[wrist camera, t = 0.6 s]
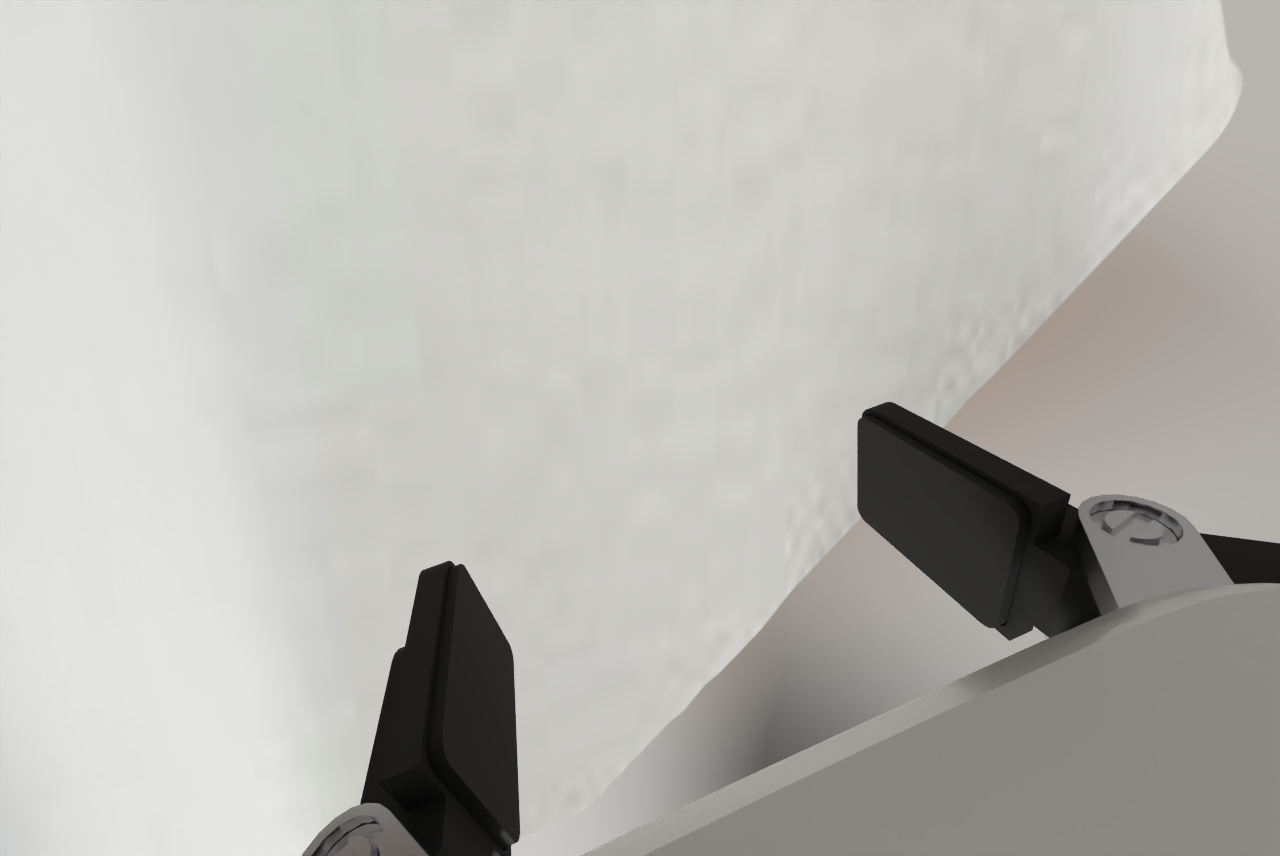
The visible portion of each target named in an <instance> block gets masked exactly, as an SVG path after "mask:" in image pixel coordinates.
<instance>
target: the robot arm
mask: <svg viewBox="0 0 1280 856" xmlns="http://www.w3.org/2000/svg"><path fill="white" fill-rule="evenodd" d="M1069 498H1070V494H1069V493H1067V492H1065V491H1063V490H1061V489H1059V488H1057V487H1055V486H1053V485H1051V484H1050V483H1048V482H1046V481H1044V480H1042V479H1040V478H1038V477H1036V476H1034V475H1032V474H1030V473H1028V472H1026V471H1024V470H1022V469H1021V468H1019V467H1017V466H1014V465H1013V464H1011V463H1009V462H1007V461H1005V460H1003V459H1001V458H999V457H997V456H995V455H993V454H991V453H990V452H988V451H986V450H984V449H982V448H980V447H978V446H976V445H974V444H972V443H970V442H968V441H966V440H964V439H962V438H961V437H959V436H957V435H955V434H953V433H951V432H949V431H947V430H945V429H943V428H941V427H939V426H937V425H935V424H933V423H932V422H930V421H928V420H926V419H924V418H922V417H920V416H918V415H916V414H914V413H912V412H910V411H908V410H906V409H904V408H903V407H901V406H899V405H897V404H895V403H892V402H886V403H883V404H881V405H878V406H875V407H872V408H869V409H867V410H865V411H864V412H863V414H862V418H861V419H859V421H858V502H857V506H858V511H859V513H860V515H861V517H862V518H863V520H864V521H865V522H866V523H868V524H869V525H870V526H871V527H872V528H873V529H874V530H876V531H877V532H878V533H879V534H880V535H881V536H882V537H884V538H885V539H886V540H887V541H888V542H889V543H891V544H892V545H893V546H894V547H895V548H896V549H897V550H898V551H900V552H901V553H902V554H903V555H904V556H905V557H906V558H907V559H909V560H910V561H911V562H912V563H913V564H914V565H915V566H917V567H918V568H919V569H920V570H921V571H922V572H924V573H925V574H926V575H927V576H928V577H929V578H930V579H931V580H933V581H934V582H935V583H936V584H937V585H938V586H939V587H941V588H942V589H943V590H944V591H945V592H946V593H947V594H949V595H950V596H951V597H952V598H953V599H954V600H955V601H957V602H958V603H959V604H960V605H961V606H962V607H963V608H964V609H966V610H967V611H968V612H969V613H970V614H971V615H973V616H974V617H975V618H976V619H977V620H978V621H979V622H981V623H982V624H983V625H985V626H987V627H989V628H995V629H996V630H998V631H999V632H1000V633H1001V634H1002V635H1003V636H1004V637H1006V638H1007V639H1008V640H1009V641H1010V640H1012V639H1014V638H1017V637H1018V636H1021V635H1023V634H1025V633H1027V632H1029V631H1031V630H1032V629H1033V626H1035V627H1036V628H1038V629H1039V630H1040V631H1041V632H1043V633H1044V634H1045V637H1046V640H1044V641H1042V642H1040V643H1037V644H1035V645H1033V646H1031V647H1029V648H1026V649H1024V650H1022V651H1020V652H1018V653H1015V654H1013V655H1011V656H1009V657H1007V658H1004V659H1002V660H1000V661H998V662H996V663H993V664H991V665H989V666H987V667H984V668H982V669H980V670H978V671H976V672H974V673H971V674H969V675H967V676H965V677H963V678H960V679H958V680H956V681H954V682H951V683H949V684H947V685H945V686H943V687H940V688H938V689H936V690H934V691H932V692H929V693H928V694H925V695H923V696H921V697H919V698H917V699H914V700H912V701H910V702H908V703H906V704H903V705H901V706H899V707H897V708H895V709H892V710H890V711H888V712H886V713H884V714H882V715H879V716H877V717H875V718H873V719H871V720H869V721H866V722H864V723H862V724H860V725H858V726H855V727H853V728H851V729H849V730H847V731H845V732H842V733H840V734H838V735H836V736H834V737H832V738H830V739H827V740H825V741H823V742H821V743H819V744H817V745H814V746H812V747H810V748H808V749H806V750H804V751H801V752H799V753H797V754H795V755H793V756H791V757H788V758H786V759H784V760H782V761H780V762H777V763H775V764H773V765H771V766H769V767H767V768H765V769H762V770H760V771H759V772H756V773H754V774H752V775H750V776H747V777H745V778H743V779H741V780H739V781H737V782H735V783H733V784H730V785H728V786H726V787H724V788H722V789H720V790H718V791H715V792H713V793H711V794H709V795H707V796H705V797H703V798H700V799H699V800H696V801H694V802H692V803H690V804H688V805H685V806H683V807H681V808H679V809H677V810H675V811H673V812H671V813H668V814H666V815H664V816H662V817H660V818H658V819H656V820H653V821H652V822H649V823H647V824H645V825H643V826H641V827H638V828H636V829H634V830H632V831H630V832H628V833H626V834H624V835H622V836H620V837H618V838H616V839H614V840H612V841H610V842H608V843H606V844H604V845H602V846H600V847H598V848H596V849H594V850H592V851H589V852H587V853H585V854H583V855H581V856H1280V544H1279V543H1271V542H1263V541H1255V540H1248V539H1240V538H1232V537H1225V536H1216V535H1209V534H1201V533H1199V532H1198V531H1197V530H1196V528H1195V527H1194V526H1193V525H1192V524H1191V523H1190V522H1189V521H1188V520H1187V519H1186V518H1185V517H1184V516H1182V515H1181V514H1179V513H1177V512H1176V511H1174V510H1172V509H1170V508H1168V507H1166V506H1163V505H1161V504H1158V503H1156V502H1153V501H1149V500H1145V499H1142V498H1138V497H1132V496H1124V495H1101V496H1095V497H1091V498H1089V499H1087V500H1085V501H1083V502H1082V503H1081V505H1080V506H1079V508H1078V509H1077V508H1075V507H1073V506H1071V505H1069V504H1068V502H1069ZM519 836H520V818H519V792H518V766H517V740H516V714H515V688H514V662H513V654H512V650H511V647H510V645H509V643H508V641H507V639H506V637H505V636H504V634H503V632H502V630H501V629H500V627H499V625H498V623H497V622H496V620H495V618H494V616H493V615H492V613H491V611H490V609H489V608H488V606H487V604H486V602H485V601H484V599H483V597H482V596H481V594H480V592H479V590H478V589H477V587H476V585H475V583H474V582H473V580H472V578H471V576H470V575H469V573H468V571H467V569H466V568H465V566H464V565H463V564H459V565H457V566H455V565H454V563H452V562H451V561H447V562H444V563H442V564H439V565H436V566H433V567H430V568H428V569H425V570H423V571H421V573H420V575H419V580H418V585H417V590H416V595H415V600H414V605H413V610H412V615H411V620H410V625H409V630H408V635H407V640H406V645H405V647H403V648H400V649H398V651H397V652H396V653H395V655H394V658H393V660H392V664H391V669H390V673H389V678H388V682H387V687H386V691H385V696H384V700H383V705H382V709H381V714H380V718H379V722H378V727H377V731H376V736H375V740H374V745H373V749H372V754H371V758H370V763H369V767H368V772H367V776H366V781H365V785H364V790H363V794H362V799H361V803H360V805H358V806H355V807H352V808H350V809H349V810H347V811H345V812H344V813H342V814H341V815H339V816H338V817H336V818H335V819H334V820H333V821H331V822H330V823H329V824H328V825H327V826H326V827H325V828H324V829H323V830H322V831H321V832H320V833H319V834H318V835H317V836H316V838H315V839H314V840H313V841H312V843H311V844H310V845H309V846H308V848H307V849H306V850H305V852H304V853H303V855H302V856H511V845H512V844H514V843H516V842H518V840H519Z"/></svg>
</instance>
